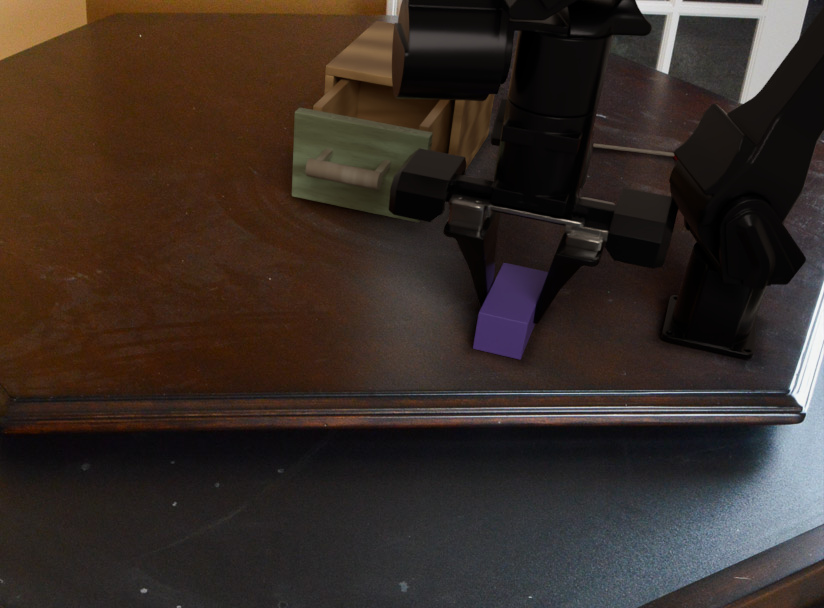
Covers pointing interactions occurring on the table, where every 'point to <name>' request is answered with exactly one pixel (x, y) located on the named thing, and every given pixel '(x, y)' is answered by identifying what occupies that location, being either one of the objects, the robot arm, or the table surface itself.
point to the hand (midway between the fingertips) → (510, 315)
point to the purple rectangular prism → (509, 311)
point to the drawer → (363, 143)
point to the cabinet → (374, 65)
